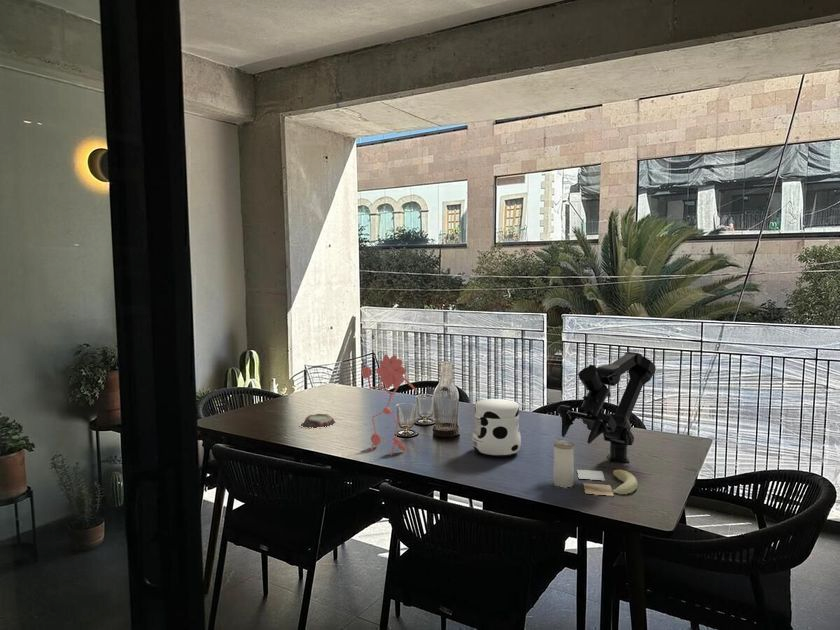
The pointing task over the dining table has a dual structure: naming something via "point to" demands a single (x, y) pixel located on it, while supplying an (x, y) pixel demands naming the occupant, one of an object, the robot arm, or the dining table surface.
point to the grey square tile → (590, 475)
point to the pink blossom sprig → (389, 375)
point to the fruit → (625, 482)
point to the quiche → (318, 421)
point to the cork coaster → (598, 489)
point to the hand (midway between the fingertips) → (575, 439)
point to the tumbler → (563, 463)
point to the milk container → (496, 428)
